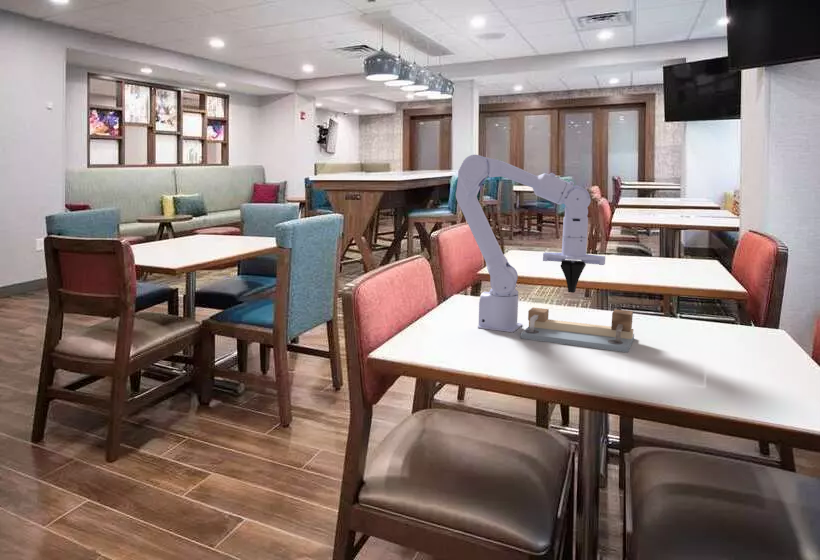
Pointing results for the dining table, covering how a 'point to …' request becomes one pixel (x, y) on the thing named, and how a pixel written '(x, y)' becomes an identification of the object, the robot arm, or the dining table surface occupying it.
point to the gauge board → (574, 332)
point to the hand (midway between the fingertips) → (571, 291)
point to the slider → (621, 322)
